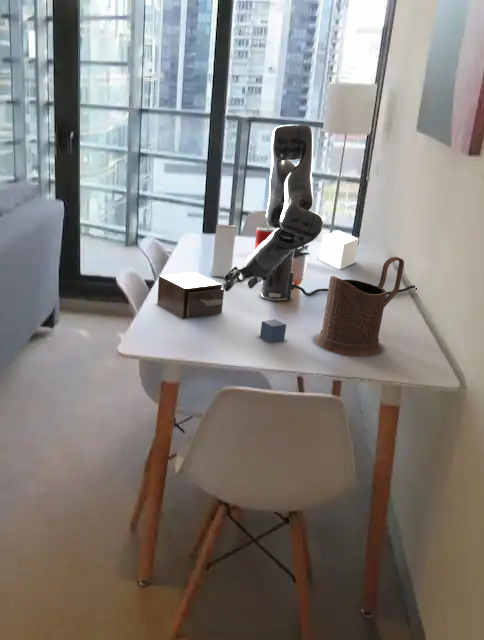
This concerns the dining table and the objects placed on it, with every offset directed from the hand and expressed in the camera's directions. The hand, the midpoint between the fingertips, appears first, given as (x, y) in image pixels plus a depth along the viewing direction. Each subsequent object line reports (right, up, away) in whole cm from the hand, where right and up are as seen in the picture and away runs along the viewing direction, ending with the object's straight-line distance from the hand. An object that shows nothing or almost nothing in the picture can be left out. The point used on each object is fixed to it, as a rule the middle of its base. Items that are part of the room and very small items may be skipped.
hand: (237, 287), depth 208 cm
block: (+10, -15, +2) cm, 18 cm away
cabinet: (-12, -4, +25) cm, 29 cm away
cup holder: (+35, -16, +2) cm, 39 cm away
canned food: (+26, +27, +102) cm, 108 cm away
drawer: (-10, -5, +21) cm, 24 cm away
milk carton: (+4, +13, +67) cm, 68 cm away
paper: (+56, +22, +95) cm, 113 cm away
